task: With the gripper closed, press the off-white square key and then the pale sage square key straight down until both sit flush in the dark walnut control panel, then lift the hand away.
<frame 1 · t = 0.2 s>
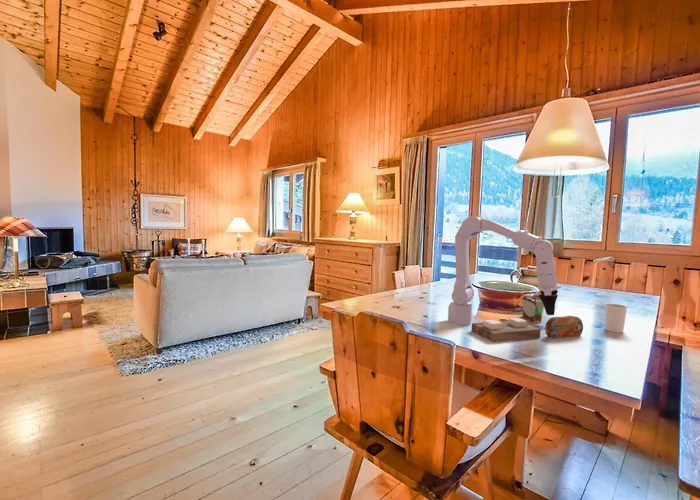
hand: (550, 312, 122), 11 cm above the table, tool pointing down, fingers open, 7 cm apart
tin: (562, 339, 127), on the table
food container: (535, 322, 148), on the table
key back: (517, 323, 129), point 4 cm above the table, slide at 0.0 cm
drinking glass: (613, 330, 138), on the table
key front: (492, 325, 126), point 4 cm above the table, slide at 0.0 cm
panel: (504, 336, 128), on the table
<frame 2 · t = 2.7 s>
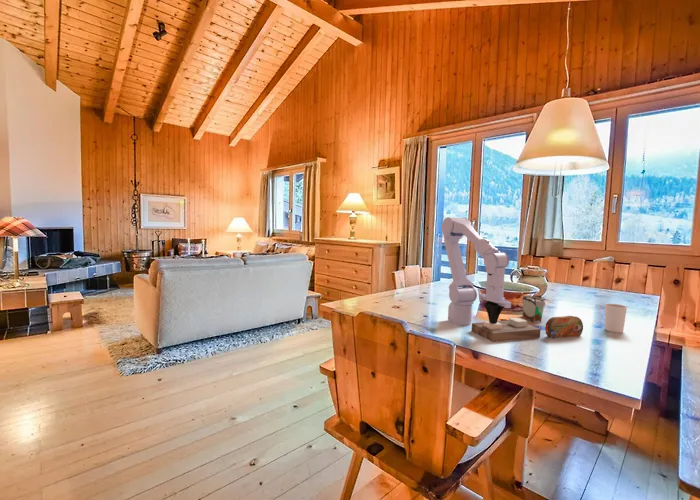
hand: (493, 322, 126), 6 cm above the table, tool pointing down, fingers closed, pressing on key front
key front: (492, 326, 126), point 4 cm above the table, slide at 0.4 cm, touching gripper
everything else where it was.
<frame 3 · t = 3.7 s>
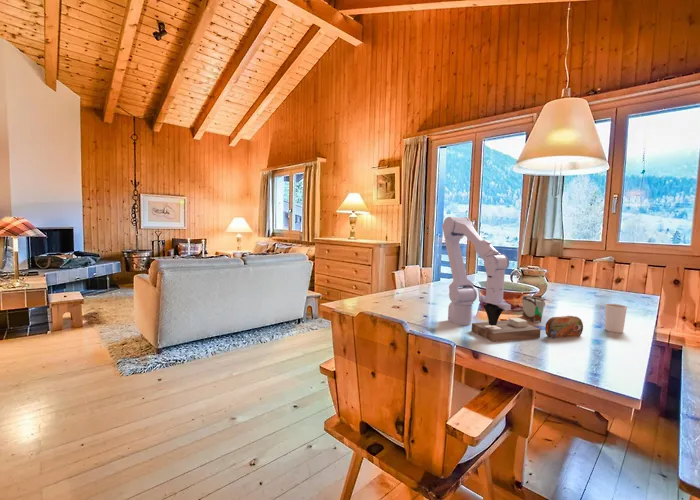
hand: (492, 324, 126), 5 cm above the table, tool pointing down, fingers closed
key front: (492, 331, 126), point 3 cm above the table, slide at 2.0 cm
everything else where it was.
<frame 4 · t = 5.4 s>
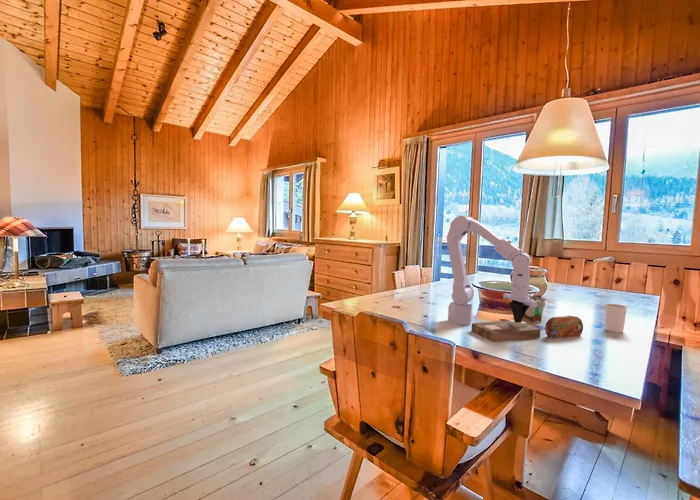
hand: (518, 321, 129), 5 cm above the table, tool pointing down, fingers closed, pressing on key back
key back: (517, 325, 129), point 4 cm above the table, slide at 0.8 cm, touching gripper
everything else where it was.
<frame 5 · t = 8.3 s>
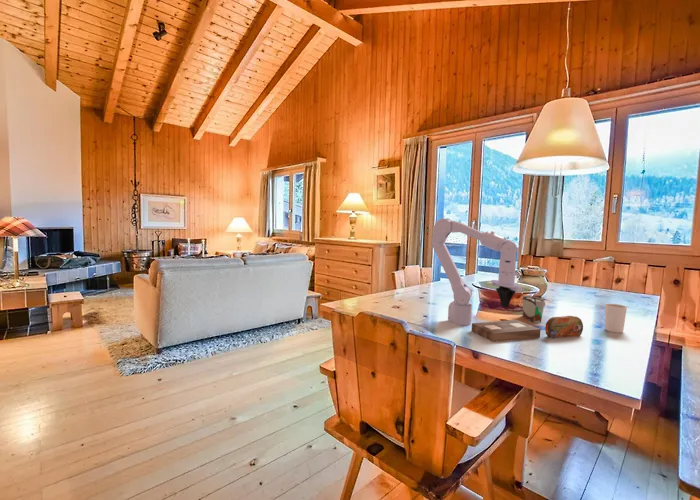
hand: (504, 306, 134), 9 cm above the table, tool pointing down, fingers closed
key back: (517, 328, 129), point 3 cm above the table, slide at 2.0 cm
everything else where it was.
at the end: key front slide at 2.0 cm; key back slide at 2.0 cm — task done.
